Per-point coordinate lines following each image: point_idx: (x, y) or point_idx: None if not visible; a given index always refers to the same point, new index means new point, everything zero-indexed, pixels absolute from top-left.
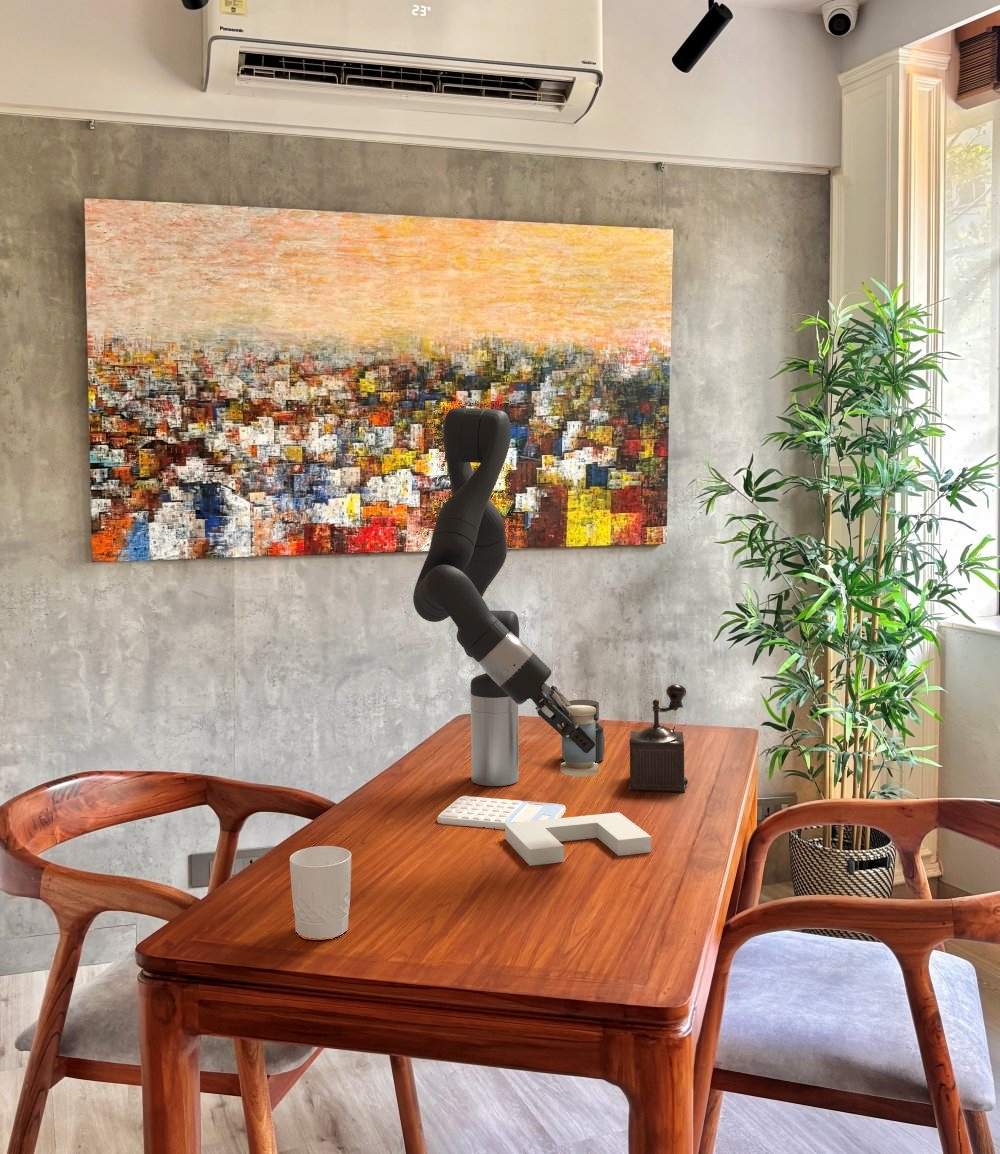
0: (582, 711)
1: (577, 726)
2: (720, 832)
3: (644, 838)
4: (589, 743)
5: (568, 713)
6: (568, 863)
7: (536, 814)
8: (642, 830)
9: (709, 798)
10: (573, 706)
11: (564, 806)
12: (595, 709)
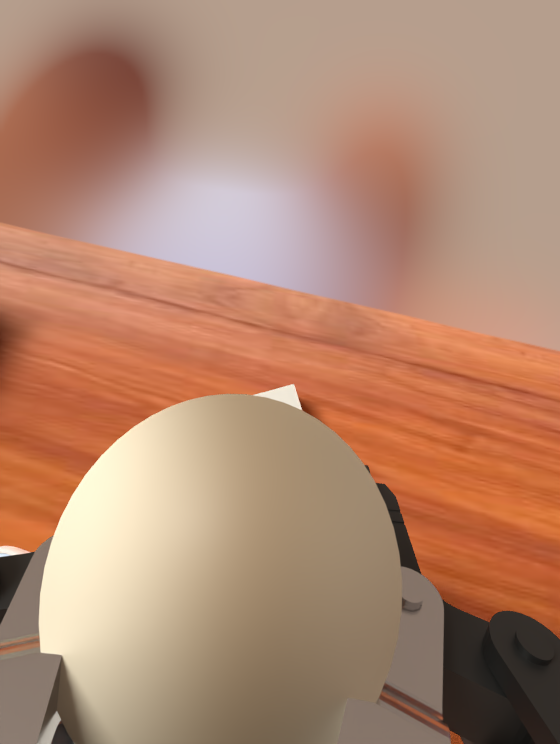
0: (362, 536)
1: (430, 586)
2: (202, 281)
3: (297, 397)
4: (392, 496)
5: (443, 733)
6: None
7: None
8: (257, 395)
9: (29, 268)
10: (99, 625)
11: (6, 550)
12: (271, 401)
